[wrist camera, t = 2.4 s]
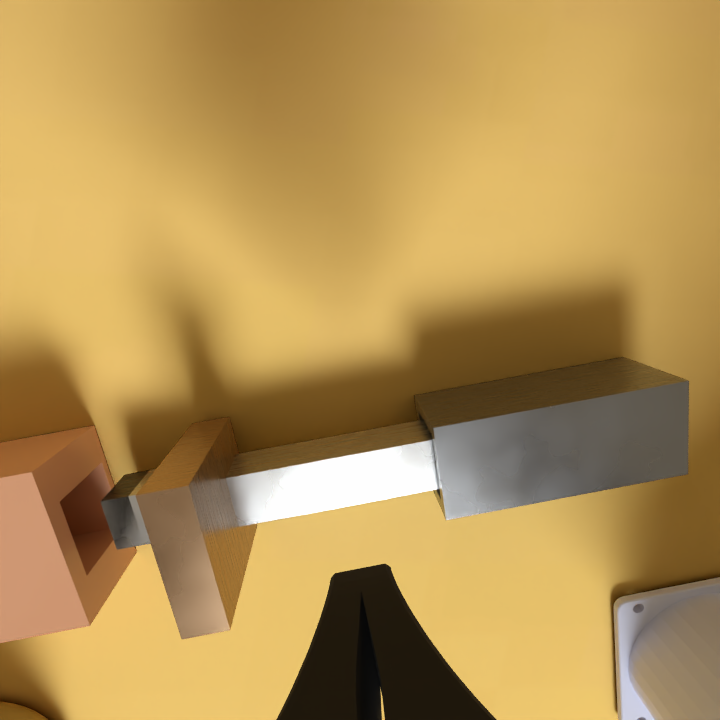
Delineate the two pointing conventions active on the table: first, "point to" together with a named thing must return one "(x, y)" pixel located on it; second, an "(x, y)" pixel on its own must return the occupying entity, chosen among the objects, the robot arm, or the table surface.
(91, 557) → the socket block
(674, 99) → the table surface
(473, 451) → the sleeve
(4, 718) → the brown cylindrical piece
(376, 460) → the tube
